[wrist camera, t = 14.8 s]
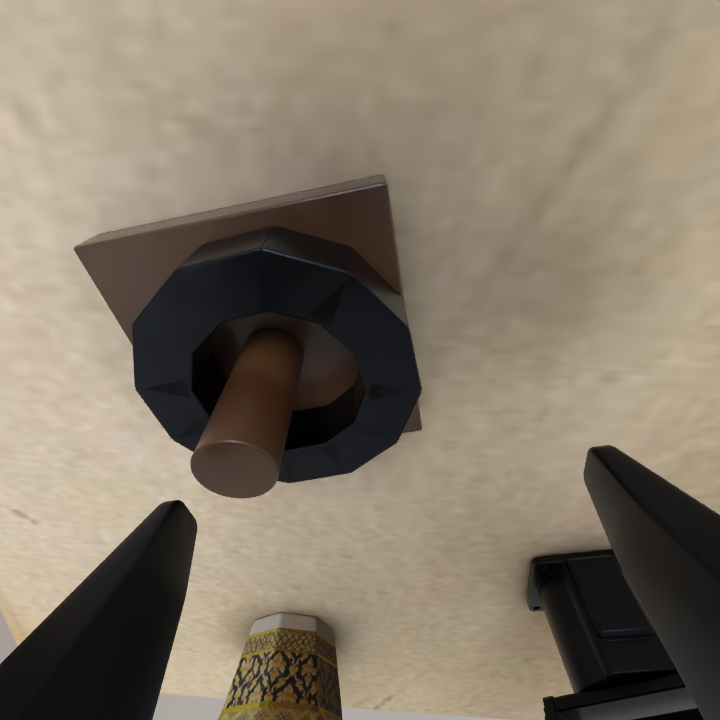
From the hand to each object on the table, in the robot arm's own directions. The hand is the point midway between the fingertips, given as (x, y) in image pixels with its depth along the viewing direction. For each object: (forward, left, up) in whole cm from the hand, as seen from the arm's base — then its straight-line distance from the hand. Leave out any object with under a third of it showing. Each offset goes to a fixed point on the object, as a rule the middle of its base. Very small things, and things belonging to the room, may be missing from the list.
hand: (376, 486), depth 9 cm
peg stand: (0, +4, -8) cm, 9 cm away
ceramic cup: (-28, +11, -8) cm, 31 cm away
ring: (0, +3, -6) cm, 7 cm away
